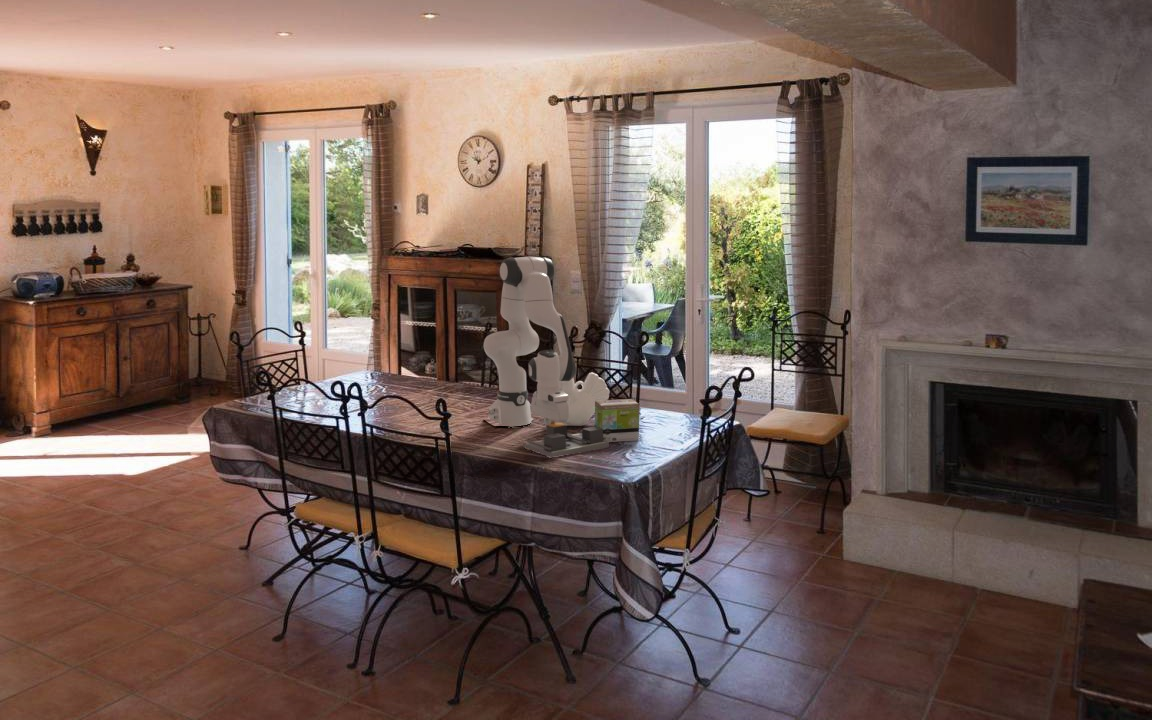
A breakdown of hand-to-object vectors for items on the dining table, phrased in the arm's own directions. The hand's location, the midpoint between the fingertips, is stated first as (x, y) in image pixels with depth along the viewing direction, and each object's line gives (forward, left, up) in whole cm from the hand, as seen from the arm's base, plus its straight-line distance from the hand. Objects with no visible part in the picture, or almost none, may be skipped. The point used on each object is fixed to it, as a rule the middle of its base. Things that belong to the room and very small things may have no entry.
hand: (549, 429), depth 378 cm
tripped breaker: (+5, 0, -3) cm, 5 cm away
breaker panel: (+11, 0, -5) cm, 12 cm away
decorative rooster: (-16, +26, -5) cm, 31 cm away
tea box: (+12, +23, -5) cm, 26 cm away
